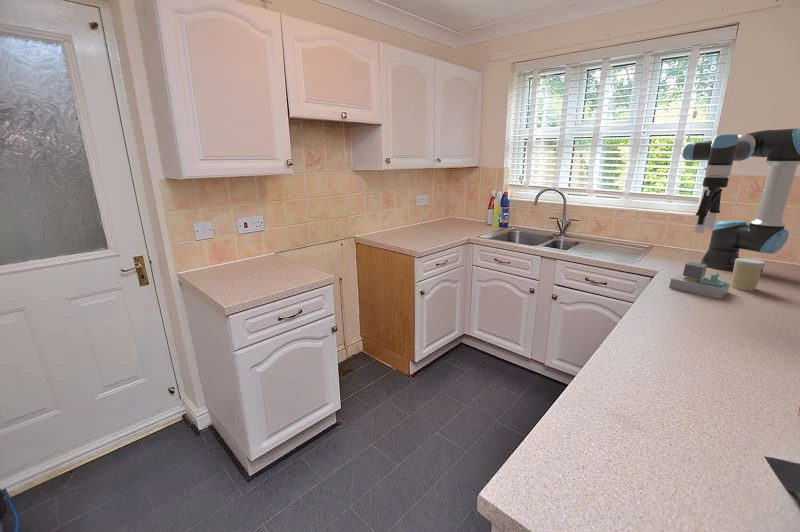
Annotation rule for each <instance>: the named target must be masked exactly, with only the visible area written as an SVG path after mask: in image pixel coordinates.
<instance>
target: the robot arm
mask: <svg viewBox="0 0 800 532" xmlns="http://www.w3.org/2000/svg"><path fill="white" fill-rule="evenodd" d="M750 157H754V158H766V160H765V161H766V163H767V164H768V165H769V168H768V170H767V174H766V179H765V181H764V182H765V183H764V186H763V190H762V193H761V197H760V201H759V204H758V208H757V212H756V215H755V218H754V219H753V220H751V221H749V224H747V221H746V220H719V221H717V215H718V214H720V213H721V210H720V207H721V197H722V192H723V189H724V188H727V186H728V183H729V177H730V176H731V172H732V167H733V163H734V161H735V162H736V161H737V162H741V161H745V160H747V159H749V158H750ZM682 158H683V160H685V161H707V164H706V167H704V168H703V169H704V170H705V173H704V176H705V177H703V181H702V187H705V188H707V189H705V190H704V191H703V192H704V193H703V196H702V199H701V201H700V204H699V207H698V210H697V212H696V213H695V216H697V219H696V224H695V228H694V233H698V234H704V233H705V229H709V230H712V232H711V236H710V240H709V244H708V245H709V246H708V249H707V251H706V252H705V254H704V255H703V256H702V258H701V260H700V264H705V265H707V268H711V269H717V270H725V271H733V269H734V264H735V260H736V259H737V258H740V256H739V253H740V250H745V251H752V252H757V253H760V254H769V255H772V254H773V255H774V254H776V253H778V252H779V251H780V250H781V249H782V248H783V247H784V246H785V245H786V243H787V241H788V238H789V231H790V230H787V229H785V226H786V224H785V223H784V222H783V217H784V216H783V215H784V213H785V209H786V206H787V202H788V200H789V196H790V192H791V189H792V186H793V181H794V178H795V175H796V172H797V167H798V166H799V165H800V128H798V127H797V128H783V129H764V130H760V131H758V130H757V131H754V132H749V133H743V134H717V135H715V136H713V139H712V140H707V141H705V140H704V141H693V142H688V143H686V144H685V145H684V147H683V149H682Z"/></svg>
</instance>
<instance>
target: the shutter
mask: <svg viewBox="0 0 800 532" xmlns="http://www.w3.org/2000/svg"><path fill="white" fill-rule="evenodd" d="M719 275H720V272H717V271H714V273H711V274H710V277H708V276H707V277H706V276H704V277H703V279H702V280H700V282H701V283H706V284H711V285H716V286H721V287H722V286H723V285H725V284H726V283H727V282H728V281H726V280H723V279H719Z"/></svg>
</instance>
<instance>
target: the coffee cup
mask: <svg viewBox="0 0 800 532" xmlns="http://www.w3.org/2000/svg"><path fill="white" fill-rule="evenodd" d="M765 266H766V263H765V261H763V260H760V259H755V258H750V257H749V258H747V257H739V258H737V259H736V260H735V264H734V269H733V270H732V277H731V282H730V287H731V288H733V289H737V290H740V291H745V292H746V291H749V292H750V291H751V292H753V291H756V288H757V286H758V283H759V281H760V278H761V275H762V273H763V270H764V267H765Z"/></svg>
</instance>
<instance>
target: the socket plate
mask: <svg viewBox="0 0 800 532" xmlns="http://www.w3.org/2000/svg"><path fill="white" fill-rule="evenodd" d="M703 278H704V277H703ZM703 278H701V279H700V280H702V279H703ZM730 287H731V282H728V281H727V283H726V284H725V285H723V286H722V287H721V286H716V285H711V284H706V283H701V282H695V281H691V280H686V276H683V273H681V272H680V273H678V274H676V275H675V276H673V277H671V278H670V282H669V287H668V288H671V289H674V290H679V291H683V292H688V293H692V294H696V295H697V294H698V295H701V296H706V297H709V298H714V299H719V300H720V299H722V298H723V297H724V296H725V295H726V294H728V292H729V290H730V289H729V288H730Z"/></svg>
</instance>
